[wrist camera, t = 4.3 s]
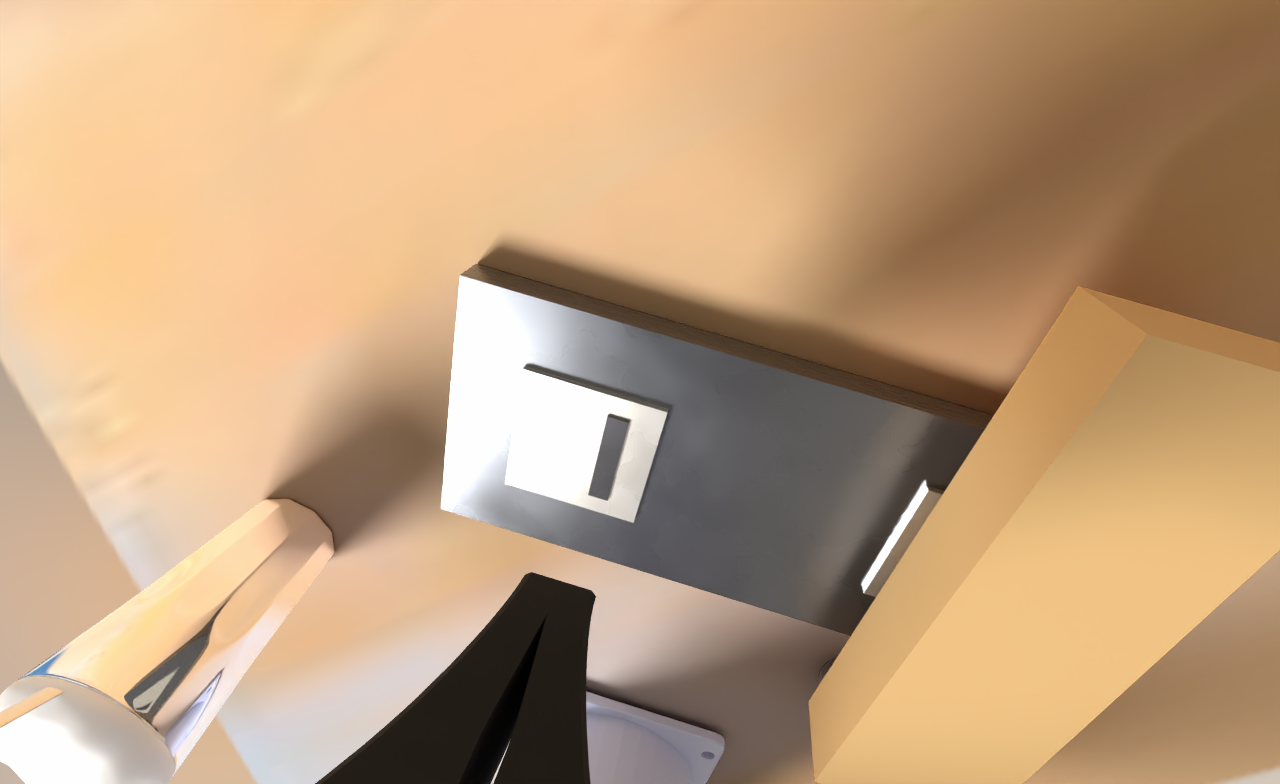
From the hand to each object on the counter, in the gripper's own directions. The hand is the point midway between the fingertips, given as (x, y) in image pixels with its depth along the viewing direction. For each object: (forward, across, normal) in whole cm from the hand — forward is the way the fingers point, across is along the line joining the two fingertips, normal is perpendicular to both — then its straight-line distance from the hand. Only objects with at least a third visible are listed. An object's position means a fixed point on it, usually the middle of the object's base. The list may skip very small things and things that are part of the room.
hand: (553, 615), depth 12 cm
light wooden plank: (+5, -10, 0) cm, 11 cm away
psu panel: (+7, -5, 0) cm, 9 cm away
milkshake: (+7, +11, +8) cm, 15 cm away
